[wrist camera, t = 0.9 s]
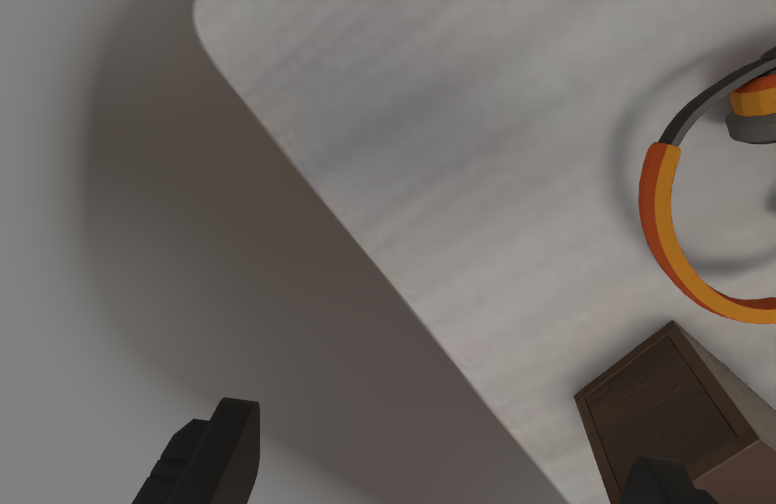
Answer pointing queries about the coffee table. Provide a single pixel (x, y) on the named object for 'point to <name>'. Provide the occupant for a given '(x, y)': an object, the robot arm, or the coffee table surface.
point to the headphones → (744, 122)
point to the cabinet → (681, 420)
